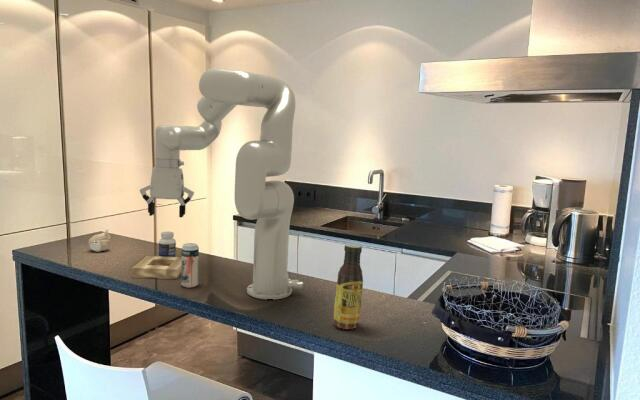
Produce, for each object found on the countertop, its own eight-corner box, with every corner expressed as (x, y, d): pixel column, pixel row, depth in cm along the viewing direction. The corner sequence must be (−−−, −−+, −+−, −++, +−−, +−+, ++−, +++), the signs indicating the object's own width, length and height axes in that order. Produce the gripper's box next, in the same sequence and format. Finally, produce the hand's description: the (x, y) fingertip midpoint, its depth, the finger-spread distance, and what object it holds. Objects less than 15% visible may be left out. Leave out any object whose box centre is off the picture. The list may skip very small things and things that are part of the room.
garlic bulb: (98, 254, 161) (97, 231, 160) (85, 251, 164) (84, 229, 162) (113, 250, 167) (113, 228, 166) (101, 247, 170) (100, 225, 168)
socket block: (187, 266, 153) (187, 257, 152) (176, 279, 140) (177, 269, 139) (147, 264, 152) (147, 255, 152) (132, 277, 139) (132, 267, 139)
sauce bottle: (339, 332, 109) (345, 249, 106) (328, 322, 115) (333, 242, 112) (364, 329, 112) (370, 247, 109) (352, 319, 117) (357, 241, 114)
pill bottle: (170, 264, 154) (170, 235, 153) (155, 262, 155) (155, 233, 154) (178, 260, 159) (178, 231, 158) (164, 258, 161) (164, 230, 159)
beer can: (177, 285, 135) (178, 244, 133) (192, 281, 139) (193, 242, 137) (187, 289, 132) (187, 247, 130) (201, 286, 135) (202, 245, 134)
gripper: (196, 164, 157) (195, 215, 159) (144, 161, 156) (143, 212, 159) (191, 166, 149) (190, 219, 152) (136, 163, 148) (136, 216, 151)
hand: (166, 215), depth 155 cm, fingers open, 9 cm apart
